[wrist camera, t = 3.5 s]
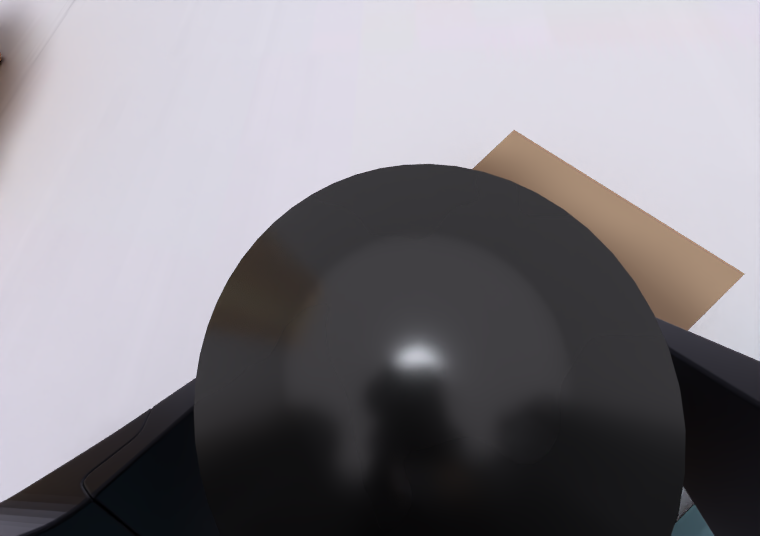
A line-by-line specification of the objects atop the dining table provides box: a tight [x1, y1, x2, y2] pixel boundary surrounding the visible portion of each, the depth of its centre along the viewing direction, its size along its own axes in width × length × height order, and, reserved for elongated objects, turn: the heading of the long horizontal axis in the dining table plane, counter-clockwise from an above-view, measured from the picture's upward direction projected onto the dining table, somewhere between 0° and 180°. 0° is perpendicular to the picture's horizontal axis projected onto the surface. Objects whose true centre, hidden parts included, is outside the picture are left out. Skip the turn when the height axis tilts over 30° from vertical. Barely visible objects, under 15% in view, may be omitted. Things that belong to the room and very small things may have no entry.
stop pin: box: [194, 164, 686, 536], centre depth 9 cm, size 5×5×13 cm
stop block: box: [472, 130, 744, 331], centre depth 14 cm, size 16×11×2 cm, turn 131°
